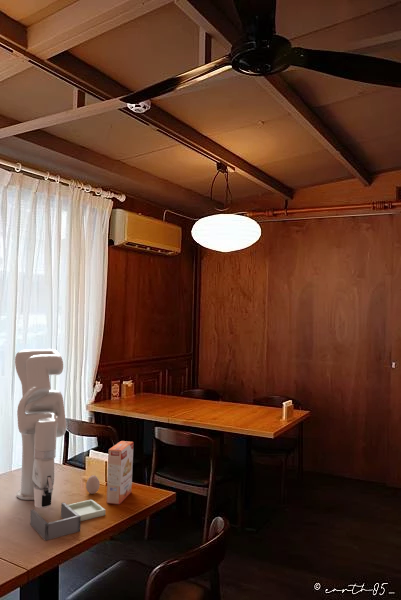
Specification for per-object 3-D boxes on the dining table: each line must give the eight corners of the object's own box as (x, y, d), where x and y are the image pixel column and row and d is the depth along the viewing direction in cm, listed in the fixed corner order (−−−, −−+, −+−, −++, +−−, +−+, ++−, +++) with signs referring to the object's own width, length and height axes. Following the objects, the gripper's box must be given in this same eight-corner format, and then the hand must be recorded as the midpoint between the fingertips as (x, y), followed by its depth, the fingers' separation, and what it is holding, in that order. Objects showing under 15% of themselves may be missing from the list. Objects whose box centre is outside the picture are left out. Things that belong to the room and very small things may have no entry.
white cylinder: (28, 506, 176) (29, 487, 176) (41, 499, 183) (42, 480, 182) (44, 510, 174) (45, 491, 173) (56, 502, 180) (57, 484, 180)
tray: (62, 511, 181) (62, 506, 181) (91, 504, 188) (91, 499, 188) (74, 522, 172) (75, 516, 172) (105, 515, 179) (105, 509, 179)
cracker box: (120, 505, 188) (122, 450, 189) (105, 503, 189) (107, 449, 190) (132, 492, 202) (134, 441, 202) (118, 490, 203) (120, 440, 204)
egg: (84, 495, 197) (84, 477, 197) (87, 491, 202) (88, 473, 202) (97, 496, 197) (98, 477, 197) (100, 491, 202) (101, 473, 202)
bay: (30, 524, 170) (30, 509, 170) (63, 516, 177) (64, 502, 177) (45, 540, 158) (45, 524, 158) (80, 531, 165) (80, 516, 166)
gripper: (26, 447, 182) (24, 495, 183) (43, 462, 168) (40, 514, 169) (46, 444, 187) (44, 491, 187) (64, 458, 173) (61, 508, 174)
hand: (42, 501), depth 178 cm, fingers closed on white cylinder, 6 cm apart
